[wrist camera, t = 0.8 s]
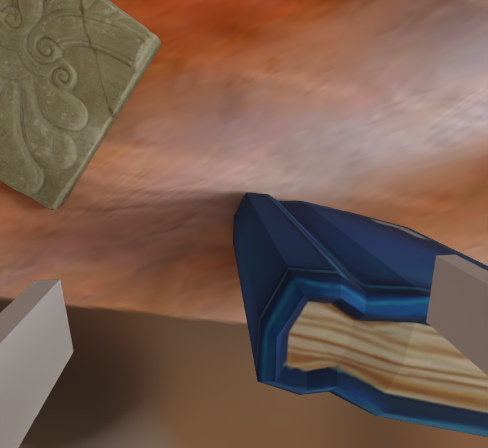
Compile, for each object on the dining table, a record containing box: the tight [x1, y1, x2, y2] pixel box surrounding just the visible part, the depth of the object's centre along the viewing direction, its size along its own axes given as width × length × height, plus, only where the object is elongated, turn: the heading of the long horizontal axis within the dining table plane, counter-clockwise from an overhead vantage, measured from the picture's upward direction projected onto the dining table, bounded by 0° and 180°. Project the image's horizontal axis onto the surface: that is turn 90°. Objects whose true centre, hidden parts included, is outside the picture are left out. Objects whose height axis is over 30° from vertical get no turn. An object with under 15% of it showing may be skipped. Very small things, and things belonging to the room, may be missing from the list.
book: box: [233, 193, 488, 437], centre depth 28 cm, size 22×7×25 cm, turn 75°
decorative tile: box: [0, 0, 161, 210], centre depth 31 cm, size 19×20×4 cm
